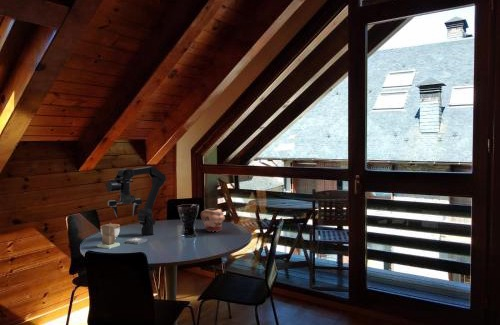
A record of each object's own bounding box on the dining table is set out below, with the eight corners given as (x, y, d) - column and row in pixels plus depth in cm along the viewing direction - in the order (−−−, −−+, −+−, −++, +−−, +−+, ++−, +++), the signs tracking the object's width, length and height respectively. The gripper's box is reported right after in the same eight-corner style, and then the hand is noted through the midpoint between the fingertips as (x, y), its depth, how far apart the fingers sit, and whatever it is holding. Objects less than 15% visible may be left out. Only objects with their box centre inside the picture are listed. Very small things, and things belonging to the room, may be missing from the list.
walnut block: (108, 242, 215) (107, 224, 215) (114, 243, 213) (114, 225, 212) (102, 243, 211) (102, 225, 211) (109, 244, 209) (108, 226, 209)
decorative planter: (193, 230, 251) (193, 208, 250) (206, 227, 261) (205, 206, 261) (218, 234, 240) (218, 211, 239) (230, 230, 250) (230, 208, 250)
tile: (135, 239, 227) (135, 237, 227) (147, 241, 223) (147, 238, 223) (125, 242, 220) (125, 240, 220) (137, 244, 216) (137, 241, 216)
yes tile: (107, 243, 217) (107, 241, 217) (119, 245, 213) (119, 242, 213) (97, 246, 211) (97, 244, 211) (109, 248, 207) (109, 246, 207)
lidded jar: (113, 241, 223) (113, 224, 223) (96, 240, 225) (96, 224, 225) (123, 237, 234) (123, 221, 233) (107, 236, 236) (106, 220, 235)
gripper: (110, 192, 215) (110, 220, 216) (144, 190, 224) (144, 217, 225) (107, 190, 225) (107, 217, 226) (140, 188, 234) (140, 214, 235)
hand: (125, 217), depth 227 cm, fingers open, 9 cm apart
